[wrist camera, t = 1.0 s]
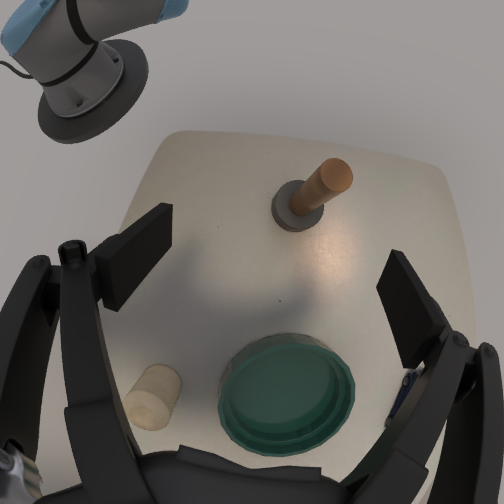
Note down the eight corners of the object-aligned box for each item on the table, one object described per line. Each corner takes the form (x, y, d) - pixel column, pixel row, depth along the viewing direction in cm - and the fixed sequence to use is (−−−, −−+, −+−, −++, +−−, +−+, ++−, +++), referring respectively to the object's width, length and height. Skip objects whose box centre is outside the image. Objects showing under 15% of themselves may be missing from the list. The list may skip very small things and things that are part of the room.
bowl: (198, 411, 33) (194, 430, 28) (259, 310, 34) (264, 318, 29) (300, 448, 34) (307, 467, 29) (362, 361, 35) (378, 373, 30)
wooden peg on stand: (263, 216, 35) (286, 185, 20) (285, 178, 35) (319, 126, 20) (303, 240, 35) (353, 227, 20) (324, 201, 35) (379, 166, 20)
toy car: (382, 427, 35) (397, 443, 30) (408, 365, 36) (428, 377, 30) (406, 425, 36) (422, 439, 30) (431, 366, 36) (451, 376, 30)
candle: (190, 385, 33) (177, 424, 23) (163, 404, 33) (145, 444, 23) (161, 356, 33) (139, 388, 23) (135, 377, 33) (109, 410, 23)
